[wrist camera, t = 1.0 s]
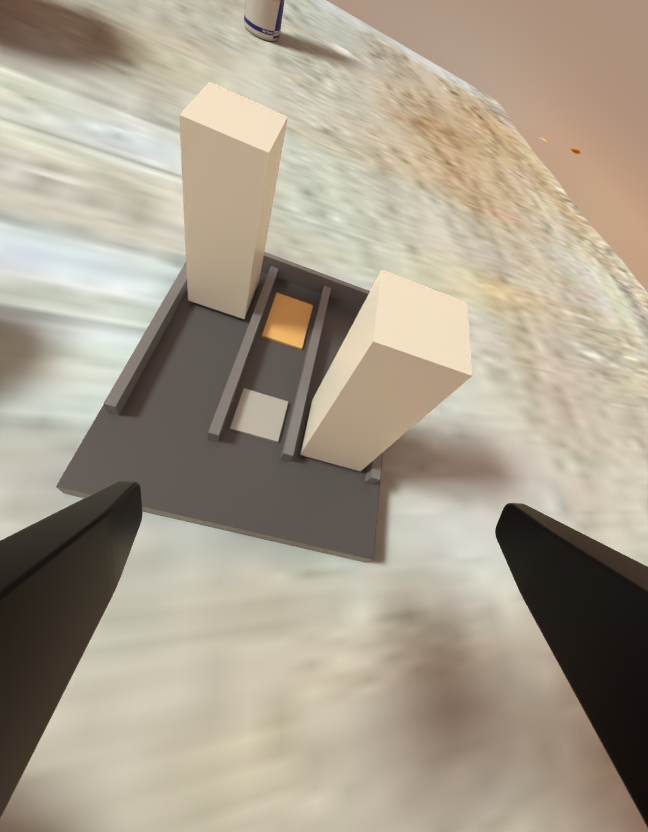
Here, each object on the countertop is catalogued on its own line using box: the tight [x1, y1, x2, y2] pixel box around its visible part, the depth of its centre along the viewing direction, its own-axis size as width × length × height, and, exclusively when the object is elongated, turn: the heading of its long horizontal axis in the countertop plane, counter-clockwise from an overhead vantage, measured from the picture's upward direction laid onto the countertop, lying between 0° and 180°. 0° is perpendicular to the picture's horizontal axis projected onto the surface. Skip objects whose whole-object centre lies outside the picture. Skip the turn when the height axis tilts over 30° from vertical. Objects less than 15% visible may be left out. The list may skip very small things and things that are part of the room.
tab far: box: [179, 82, 288, 319], centre depth 21 cm, size 4×4×11 cm
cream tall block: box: [300, 270, 472, 471], centre depth 18 cm, size 4×4×11 cm
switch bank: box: [56, 252, 383, 562], centre depth 24 cm, size 20×17×3 cm
